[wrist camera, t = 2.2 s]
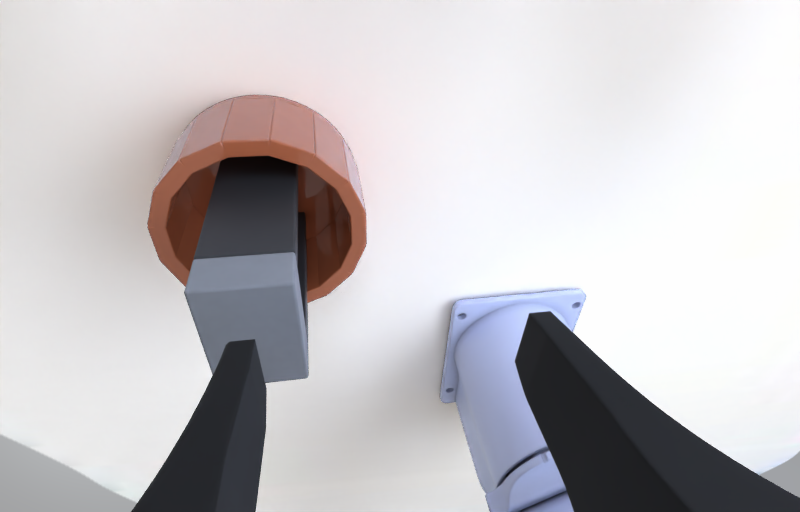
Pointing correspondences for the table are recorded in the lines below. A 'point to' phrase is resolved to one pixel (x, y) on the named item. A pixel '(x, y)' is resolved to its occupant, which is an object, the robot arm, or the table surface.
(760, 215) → the table surface
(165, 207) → the holder
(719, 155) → the table surface
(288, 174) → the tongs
